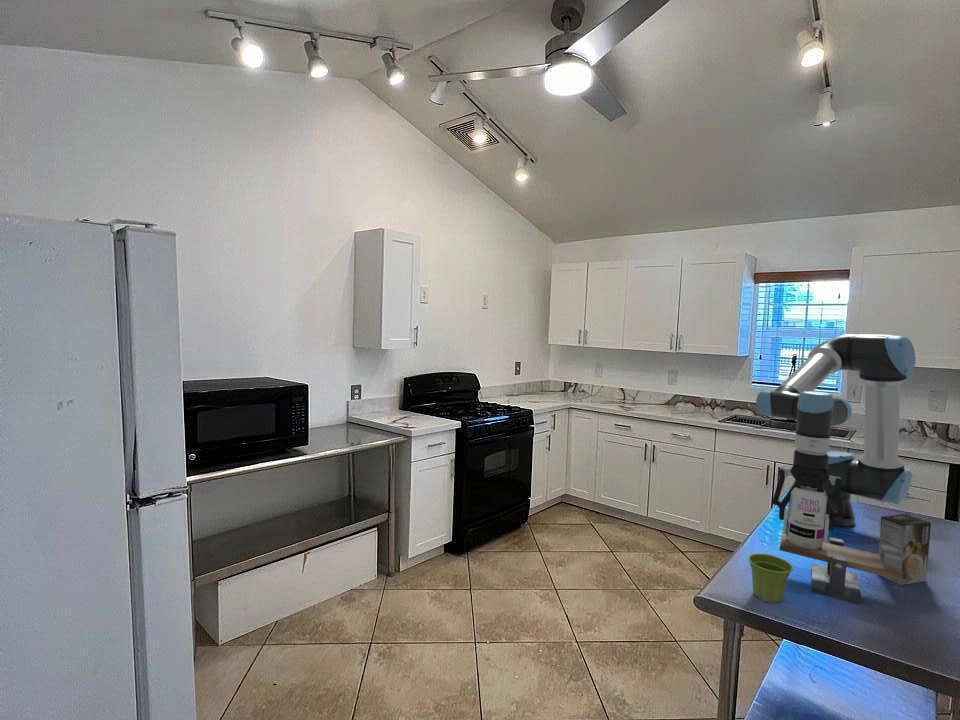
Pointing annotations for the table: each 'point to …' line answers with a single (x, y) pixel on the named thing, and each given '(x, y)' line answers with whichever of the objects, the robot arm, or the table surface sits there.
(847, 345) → the robot arm
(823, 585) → the stand
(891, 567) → the balance beam
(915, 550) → the coffee box
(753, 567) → the plant pot
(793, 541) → the supplement can
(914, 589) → the table surface
